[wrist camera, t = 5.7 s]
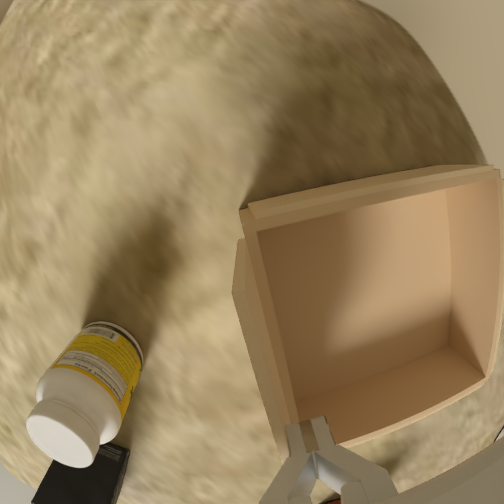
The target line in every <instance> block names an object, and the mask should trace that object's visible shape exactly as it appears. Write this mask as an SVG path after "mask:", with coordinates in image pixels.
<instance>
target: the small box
mask: <svg viewBox="0 0 504 504" xmlns="http://www.w3.org/2000/svg"><path fill="white" fill-rule="evenodd" d="M129 454H130V451H128V450H126V449H123V448H121V447H118V446H116V445H113V444H111V443H108V442H107V443H105V444H101V445H99V449H98V452H97V453H96V456H95V458H94V461H93V462H92V464H91V465H90V466H88V467H84V468H76V467H71V466H68V465H65V464H62V463H60V462H58V461H56V460H53V461H52V463H51V465H50V467H49V469H48V471H47V473H46V475H45V476H44V478H43V480H42V482H41V484H40V486H39V488H38V490H37V492H36V494H35V496H34V498H33V500H32V501H31V504H116V503H117V500H118V497H119V494H120V490H121V486H122V484H123V478H124V475H125V471H126V467H127V463H128V458H129Z"/></svg>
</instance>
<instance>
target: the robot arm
mask: <svg viewBox="0 0 504 504" xmlns="http://www.w3.org/2000/svg"><path fill="white" fill-rule="evenodd" d="M285 428H286V435H287V441H288V448H289V457H287V458H286V460H285V462H284V464H283V465H282V467H281V469H280V470H279V472H278V473H277V475H276V477H275V478H274V480H273V482H272V483H271V485H270V486H269V488H268V489H267V491H266V493H265V494H264V496H263V497H262V499H261V500H260V502H259V504H312V502H311V498H310V494H311V492H312V490H313V487H314V485H315V483H316V479H318V478H319V479H320V480H321V481H322V482H324V483H325V484H326V485H328V486H329V487H330V488H331V489H333V490H334V491H335V492H337V493H338V494H340V495H341V504H504V429H503V430H502V431H501V433H500V434H499V436H498V438H497V439H496V441H495V442H494V443H492V444H491V445H489V446H488V447H486V448H485V449H483V450H482V451H480V452H479V453H477V454H475V455H474V456H472V457H471V458H469V459H467V460H466V461H464V462H462V463H460V464H459V465H457V466H455V467H453V468H452V469H450V470H448V471H446V472H444V473H442V474H440V475H438V476H437V477H435V478H433V479H431V480H428V481H426V482H424V483H422V484H420V485H418V486H416V487H414V488H411V489H409V490H407V491H404V492H402V493H400V494H398V492H397V489H396V487H395V485H394V483H393V481H392V479H391V477H390V475H389V473H388V471H387V469H385V468H383V467H381V466H379V465H377V464H375V463H373V462H371V461H369V460H367V459H365V458H363V457H361V456H359V455H357V454H355V453H354V452H352V451H350V450H348V449H346V448H344V447H343V446H341V445H339V444H338V445H336V442H335V439H334V437H333V434H332V431H330V430H329V425H328V421H327V418H326V416H320V417H316V418H312V419H309V420H305V421H300V422H297V423H292V424H287V425H285Z"/></svg>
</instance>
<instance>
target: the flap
mask: <svg viewBox="0 0 504 504" xmlns="http://www.w3.org/2000/svg"><path fill="white" fill-rule="evenodd" d="M232 296H233V300H234V303H235V307H236V310H237V314H238V318H239V321H240V325H241V328H242V332H243V335H244V339H245V342H246V346H247V349H248V353H249V356H250V360H251V363H252V366H253V370H254V373H255V377H256V380H257V383H258V387H259V390H260V393H261V397H262V400H263V403H264V407H265V410H266V413H267V416H268V420H269V423H270V426H271V429H272V432H273V436H274V439H275V442H276V445H277V448H278V451H279V455H280V458H281V461H282V464H284V462H285V460H286V458H287V457H289V448H288V441H287V435H286V428H285V425H287V424H291V422H290V418H289V414H288V410H287V406H286V402H285V398H284V394H283V390H282V386H281V382H280V378H279V374H278V370H277V366H276V362H275V358H274V354H273V350H272V346H271V342H270V338H269V334H268V329H267V325H266V321H265V317H264V313H263V309H262V305H261V301H260V297H259V293H258V289H257V285H256V281H255V276H254V272H253V268H252V264H251V260H250V256H249V252H248V248H247V244H246V240H245V238H244V239H239V240H238V243H237V251H236V260H235V268H234V277H233V285H232Z"/></svg>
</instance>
